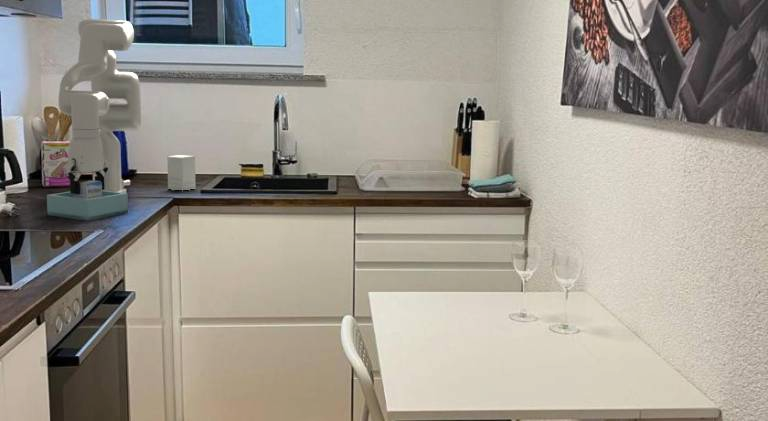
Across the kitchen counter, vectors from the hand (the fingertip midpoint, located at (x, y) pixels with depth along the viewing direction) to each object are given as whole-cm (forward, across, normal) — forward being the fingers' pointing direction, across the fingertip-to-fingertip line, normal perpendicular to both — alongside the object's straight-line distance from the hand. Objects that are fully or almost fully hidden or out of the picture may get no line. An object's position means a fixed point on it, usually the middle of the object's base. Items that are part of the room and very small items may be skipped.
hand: (87, 191), depth 227 cm
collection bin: (+7, 0, 0) cm, 7 cm away
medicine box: (+6, 0, 0) cm, 6 cm away
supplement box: (+7, -55, -9) cm, 56 cm away
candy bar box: (+8, -36, -50) cm, 62 cm away
